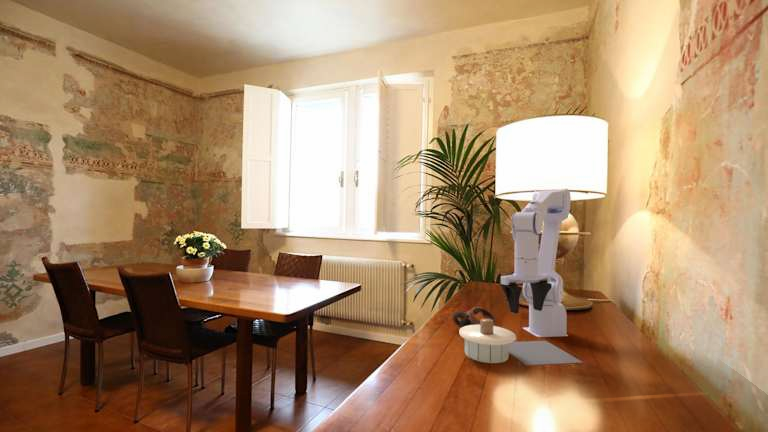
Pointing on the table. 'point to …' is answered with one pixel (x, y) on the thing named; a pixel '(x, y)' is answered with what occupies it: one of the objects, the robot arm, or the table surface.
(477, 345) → the bowl
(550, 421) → the table surface
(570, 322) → the table surface
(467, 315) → the dark brown rounded loops
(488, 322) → the lid
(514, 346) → the mat
